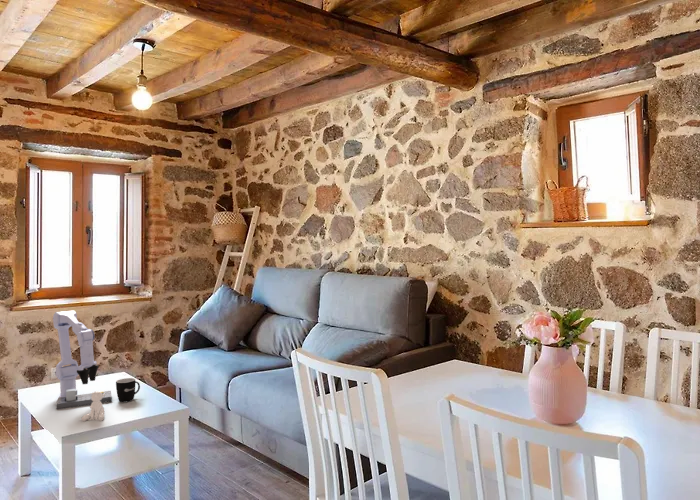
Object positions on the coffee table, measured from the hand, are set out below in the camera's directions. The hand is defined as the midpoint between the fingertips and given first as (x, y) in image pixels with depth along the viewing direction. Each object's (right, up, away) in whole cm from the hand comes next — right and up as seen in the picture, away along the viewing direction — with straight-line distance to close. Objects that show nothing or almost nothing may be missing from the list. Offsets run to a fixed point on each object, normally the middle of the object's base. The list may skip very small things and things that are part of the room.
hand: (88, 382), depth 259 cm
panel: (-4, -11, +4) cm, 12 cm away
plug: (-9, -11, +1) cm, 14 cm away
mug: (+17, -10, +6) cm, 21 cm away
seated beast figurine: (+14, -11, -21) cm, 28 cm away
